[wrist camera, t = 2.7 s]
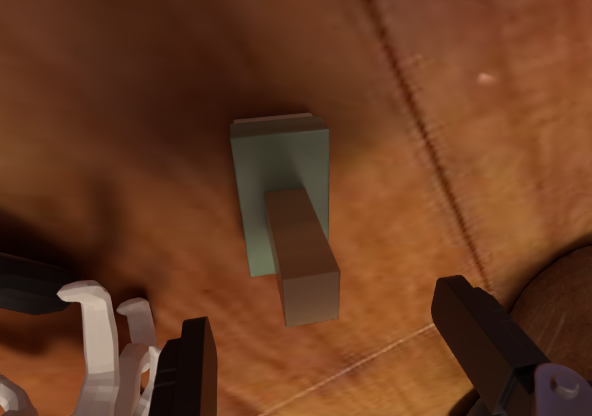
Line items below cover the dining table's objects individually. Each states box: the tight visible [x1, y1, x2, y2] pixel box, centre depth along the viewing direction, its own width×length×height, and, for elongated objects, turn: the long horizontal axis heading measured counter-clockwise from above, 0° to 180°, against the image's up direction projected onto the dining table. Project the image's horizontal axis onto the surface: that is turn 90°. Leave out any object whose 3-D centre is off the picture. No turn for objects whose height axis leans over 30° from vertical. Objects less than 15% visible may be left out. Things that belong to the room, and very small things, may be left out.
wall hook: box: [229, 113, 340, 328], centre depth 16 cm, size 8×4×9 cm, turn 2°
